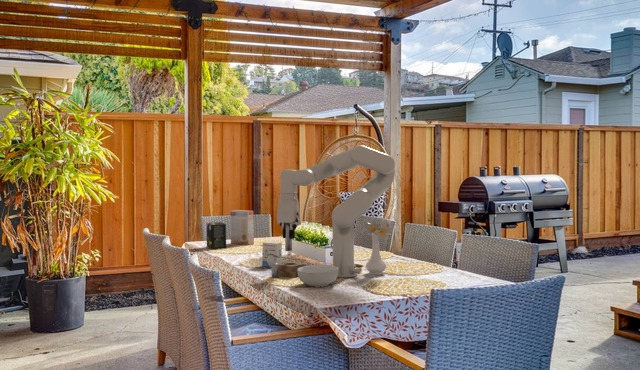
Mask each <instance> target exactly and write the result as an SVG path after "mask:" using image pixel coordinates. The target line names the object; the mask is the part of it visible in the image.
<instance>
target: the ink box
mask: <svg viewBox="0 0 640 370" xmlns="http://www.w3.org/2000/svg"><path fill="white" fill-rule="evenodd" d="M282 244H283V242H282V241H274V240H273V241H272V240H271V241H270V240H267V241H264V242H262V251H261V252H262V255H261V256H262V263H261V264H262V267H267V266H268V268H271V264H272V263H278V264H279V263H283V262H282V260H283V256H282V254H283V251H282V249H283V247H282V246H283V245H282Z"/></svg>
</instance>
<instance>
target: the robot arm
mask: <svg viewBox="0 0 640 370" xmlns="http://www.w3.org/2000/svg"><path fill="white" fill-rule="evenodd" d="M357 167H363V168H366V169H369V170H371V171H374V172H375V174H374V175H373V176H372V177H371V178H369V180H368V181H366V182H365V183H364V184H363V185H361V186H360V187H359V188H357V189H356V190H355V191H353V193H352V194H351V195H350V196H348V197H347V198H346V199H345V200H344V201H343V202H341V204H338V205H336V206H335V207H334V209H333V210H332V212H331V221H332V266H336V267H338V277H337V278H353V277H354V278H355V277H357V276H358V275H359V274H360V273H361V271H362V268H360V267H357V265H356V264H355V222H356V221H357V220H358V219H359V218H361V217H362V216H363V215H364V214H366V212H368V211H369V210H370V209H371V208H372V206H373V203H374V202H375V201H377V200H378V199H379V198H380V197H381V196H382V195H383V194H384V193H386V191H388V189H389V188H390V187H391V186H392V184H393V182H394V179H395V176H396V175H395V174H396V170H395V168H396V162H395V158H394V157H393V156H391V155H390V154H387V153H384V152H381V151H378V150H375V149H373V148H370V147H367V146H366V145H363V144H362V145H361V144H358V145H356V146H354V147H351V148H349V149H346V150H345V151H342V152H340V153H337V154H333V155H331V156H330V157H328V158H327V159H326V160H324V161H322V162H319V163H316V164H315V165H312V166H309V167H307V168H303V169H287V168H286V169H282V170H281V171H280V193H279V195H278V196H279V198H280V199H279V200H278V204H277V208H276V209H277V210H276V223H277V224H278V225H279V226H280V227H281V230H282V238H283V239H285V223H290V230H289V239H292V240H294V239H296V237H295V236H296V230H297V228H298V227H299V226H301V225H302V222H301V220H300V219H301V212H300V211H301V210H300V202H299V200H298V186H302V187H309V186H311V185H313V184H316V183H318V182H320V181H322V180H325V179H328V178H331V177H335V176H338V175H341V174H343V173H345V172H348V171H350V170H353V169H355V168H357Z"/></svg>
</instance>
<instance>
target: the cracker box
mask: <svg viewBox="0 0 640 370" xmlns="http://www.w3.org/2000/svg"><path fill="white" fill-rule="evenodd" d="M229 212H230V244H231V245H242V244H244V245H243V246H250V244H251V245H254V244H255V239H254V237H255V234H254V233H255V231H254V229H255V228H254V224H255V223H254V222H255V221H254V210H248V209H247V210H244V209H232V210H230V211H229Z"/></svg>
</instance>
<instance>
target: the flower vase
mask: <svg viewBox="0 0 640 370" xmlns="http://www.w3.org/2000/svg"><path fill="white" fill-rule="evenodd" d="M369 221H370V222H369ZM392 228H393V227H392V226H390V223H389V222H388V220H387V219H386V218H384V220H382V219H381V218H377V219H374V217H369V220H368V218H366V219H365V222H364V226H363V227H362V228H361V233H360V234H361V235H362V234H363V233H364V232H365V231H366V234H367V236H368V235H371V240H372V245H371V246H372V250H371V256H370V258H369V259H368V260H367V262H366V263H365V269H366V270H367V271H368V273H369V275H372V276H378V275H383V274H384V271H385V270H386V269H387V264H386V262H385V261H384V260H383V259H382V257H381V256H382V255H381V251H380V241H381V240H382V238H383V239H384V240H385V241H388V240H389V236H388V235H390V236H391V235H392V233H391V232H392Z"/></svg>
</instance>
